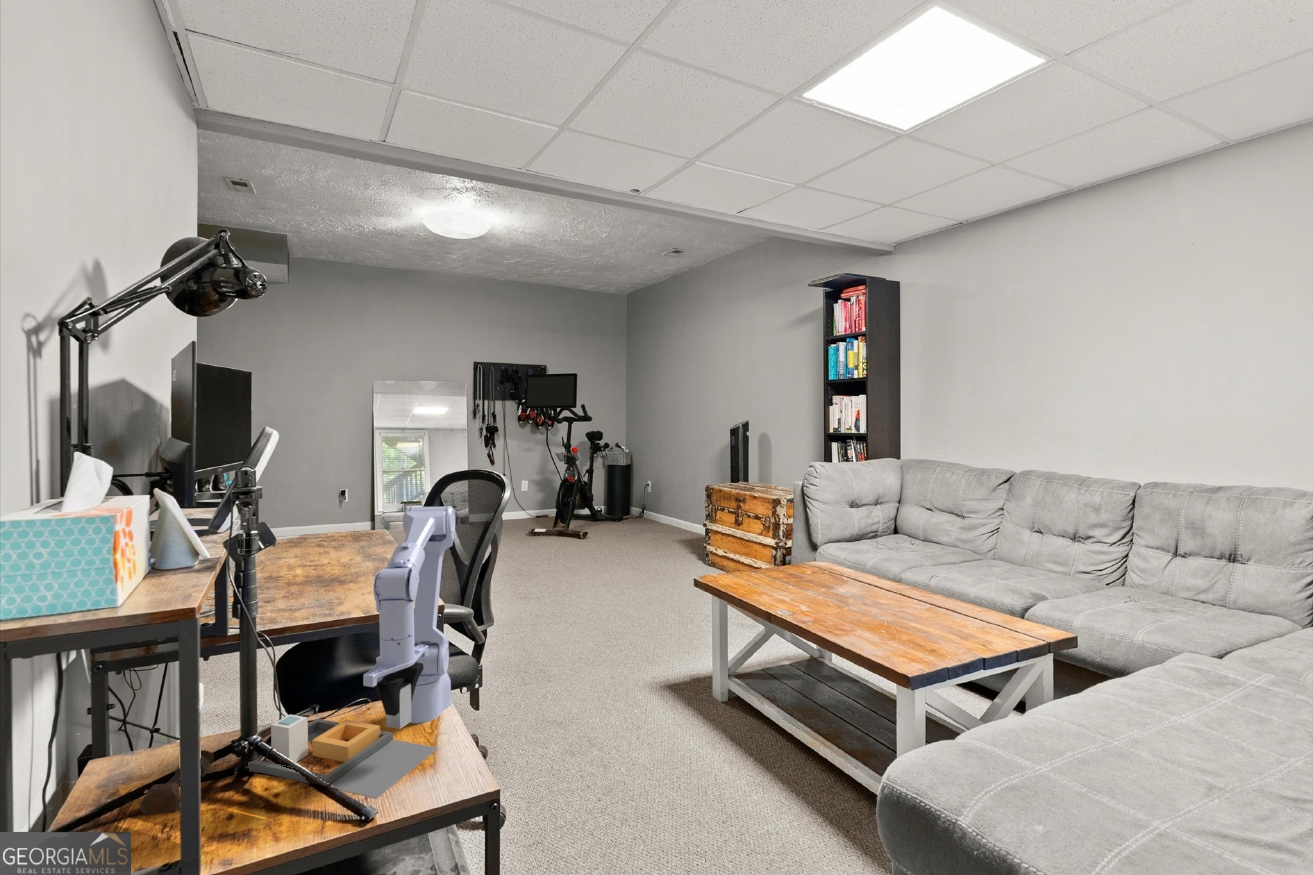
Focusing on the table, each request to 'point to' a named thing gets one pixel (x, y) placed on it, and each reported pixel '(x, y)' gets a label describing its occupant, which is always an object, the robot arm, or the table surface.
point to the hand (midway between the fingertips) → (398, 709)
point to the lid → (383, 768)
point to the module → (290, 737)
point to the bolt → (170, 791)
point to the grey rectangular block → (401, 709)
